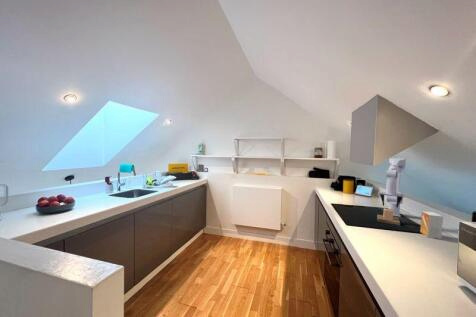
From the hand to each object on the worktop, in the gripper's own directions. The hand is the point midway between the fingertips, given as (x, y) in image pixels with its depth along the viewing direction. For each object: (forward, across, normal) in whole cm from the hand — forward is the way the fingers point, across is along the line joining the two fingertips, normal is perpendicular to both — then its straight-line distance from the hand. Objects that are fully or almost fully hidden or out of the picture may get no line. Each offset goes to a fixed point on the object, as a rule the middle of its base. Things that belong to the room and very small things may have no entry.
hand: (390, 206), depth 143 cm
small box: (+10, +18, -17) cm, 27 cm away
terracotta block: (+8, -1, -1) cm, 8 cm away
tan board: (+10, -1, -1) cm, 10 cm away
